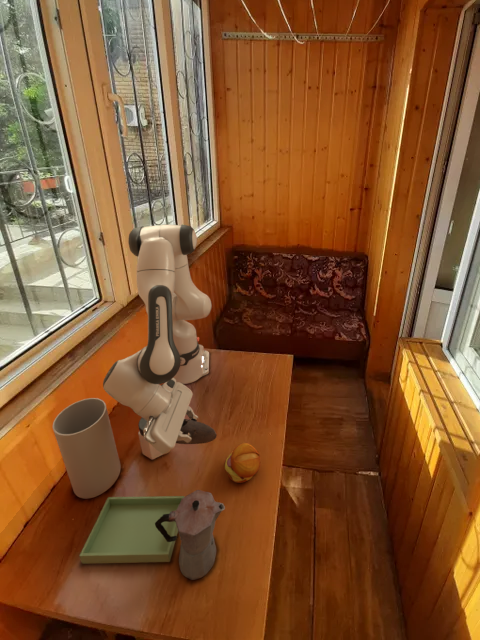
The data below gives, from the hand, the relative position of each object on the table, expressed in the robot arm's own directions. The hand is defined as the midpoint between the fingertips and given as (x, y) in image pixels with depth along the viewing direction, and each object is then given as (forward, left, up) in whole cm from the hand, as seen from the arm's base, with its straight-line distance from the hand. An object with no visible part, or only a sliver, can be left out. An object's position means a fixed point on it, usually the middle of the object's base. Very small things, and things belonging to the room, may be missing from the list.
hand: (193, 429), depth 92 cm
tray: (+16, -12, -17) cm, 26 cm away
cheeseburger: (0, +14, -17) cm, 22 cm away
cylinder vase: (+2, -30, -17) cm, 34 cm away
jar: (-8, -16, -17) cm, 24 cm away
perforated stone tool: (0, -1, -5) cm, 5 cm away
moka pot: (+22, +5, -17) cm, 29 cm away
